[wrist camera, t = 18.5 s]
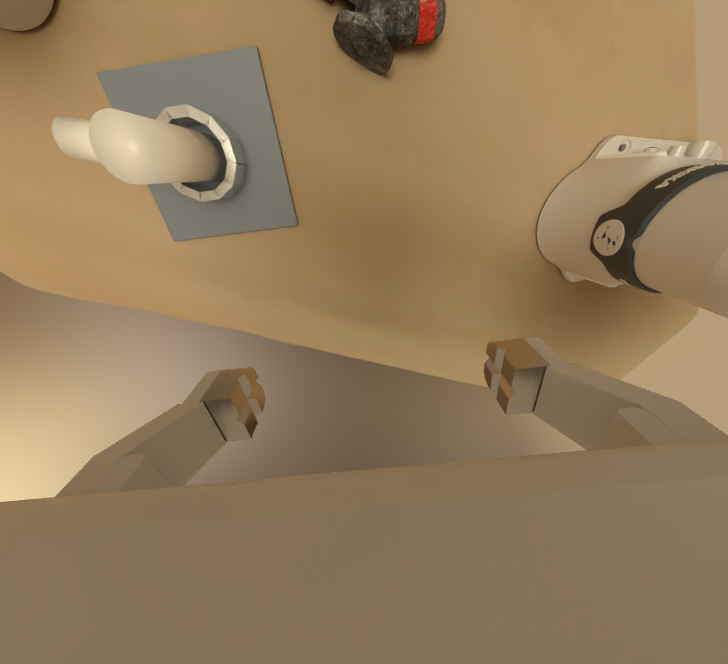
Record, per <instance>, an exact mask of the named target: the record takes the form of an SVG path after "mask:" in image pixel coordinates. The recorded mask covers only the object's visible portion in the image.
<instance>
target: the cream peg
mask: <svg viewBox="0 0 728 664" xmlns="http://www.w3.org/2000/svg"><path fill="white" fill-rule="evenodd" d="M52 133H53V136H54V139H55V141H56V143H57V145H58V146H59V148H60V149H61V150H62V151H63V152H64V153H65V154H66V155H67V156H68V157H70V158H72V159H74V160H77V161H82V162H89V163H95V164H102V165H103V166H104V167H105V168H106V169H107V170H108V171H109V172H110V173H111V174H112V175H114V176H115V177H117V178H118V179H120V180H122V181H124V182H127V183H130V184H159V183H181V182H203V181H219V180H222V179H223V178H225V174H226V167H227V160H226V156H225V153H224V150H223V147H222V144H221V142H220V140H219V139H218V138H216V137H215V136H213V135H210V134H207V133H203V132H200V131H196V130H192V129H188V128H185V127H181V126H177V125H173V124H170V123H166V122H162V121H158V120H155V119H151V118H147V117H143V116H140V115H136V114H132V113H128V112H125V111H121V110H117V109H111V108H107V109H102V110H99V111H97V112H96V113H95V114H94V115H93V116H92V118H91V120H87V119H81V118H75V117H69V116H63V115H60V116H57V117H56V118H54V120H53V122H52Z"/></svg>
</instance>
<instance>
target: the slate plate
mask: <svg viewBox="0 0 728 664" xmlns="http://www.w3.org/2000/svg"><path fill="white" fill-rule="evenodd" d="M97 76H98V78H99V80H100V82H101V84H102V86H103V89H104V91H105V93H106V95H107V97H108V99H109V102H110V104H111V106H112V108H113V109H117V110H121V111H125V112H128V113H132V114H136V115H140V116H143V117H147V118H151V119H155V120H156V118H157V117H158V116H159V114H160V113H161V112H162V110H163V109H164V108H165V107H172V106H178V105H184V104H187V105H190V106H192V107H195V108H197V109H199V110H202V111H204V112H206V113H208V114H210V115H212V116H214V117H217V118H219V119H221V120H223V121H224V122H226V124H227V125H228V126H229V127H230V129H231V130H232V131H233V132H234V134H235V135H236V136H237V137H238V139H239V140H240V142H241V144H242V147H243V151H244V154H245V158H246V161H247V164H246V165H247V170H246V176H245V182H244V184H243V186H242V187H241V188H240V189H239V190H238V191H237V192H236V193H235V194H234V195H233V196H232V197H229V198H223V199H217V200H209V201H202V202H201V201H198V200H196V199H193V198H191V197H188V196H186V195H184V194H181V193H179V192H178V191H177V189H176V188H175V187H174V186H173V185H172V184H171V183H159V184H148V186H149V188H150V190H151V192H152V195H153V197H154V199H155V201H156V203H157V205H158V207H159V210H160V212H161V214H162V216H163V218H164V220H165V223H166V225H167V227H168V229H169V231H170V233H171V236H172V238H173V240H174V241H182V240H189V239H197V238H205V237H212V236H220V235H227V234H235V233H242V232H250V231H258V230H265V229H273V228H280V227H288V226H296V225H298V222H297V217H296V213H295V208H294V204H293V200H292V195H291V191H290V187H289V182H288V178H287V174H286V169H285V165H284V160H283V156H282V152H281V147H280V143H279V139H278V134H277V130H276V126H275V121H274V117H273V112H272V108H271V104H270V99H269V95H268V91H267V86H266V82H265V78H264V73H263V69H262V64H261V60H260V56H259V51H258V48H257V47H250V48H244V49H238V50H232V51H226V52H220V53H214V54H207V55H201V56H195V57H189V58H183V59H177V60H171V61H165V62H159V63H153V64H147V65H141V66H135V67H128V68H122V69H116V70H110V71H104V72H98V73H97ZM187 128H188V129H192V130H196V131H200V132H203V133H207V134H210V135H213V136H215V134H214V133H213V132H212V131H211V130H210V129H209V127H208V126H207V125H205V124H203V123H196V124H190V125H189V126H188V127H187ZM215 137H216V136H215ZM216 138H217V137H216ZM224 180H225V178H223V179H222V180H219V181H203V182H196V183H197V184H198V185H201V186H203V187H205V188H208V189H210V190H215V189H216V188H217V187H218V186H219V185H220V184H221V183H222V182H223V181H224Z"/></svg>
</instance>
